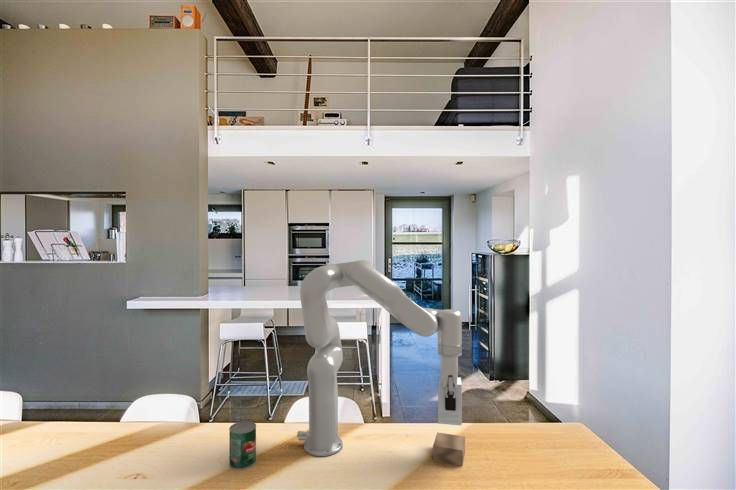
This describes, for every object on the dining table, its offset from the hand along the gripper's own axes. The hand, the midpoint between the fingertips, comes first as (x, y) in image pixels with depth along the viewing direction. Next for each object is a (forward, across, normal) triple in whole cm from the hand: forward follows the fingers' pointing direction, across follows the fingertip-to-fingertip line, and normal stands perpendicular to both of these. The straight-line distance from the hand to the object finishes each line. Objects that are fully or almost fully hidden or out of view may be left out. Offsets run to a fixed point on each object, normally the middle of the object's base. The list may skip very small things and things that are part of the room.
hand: (449, 404), depth 125 cm
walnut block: (+17, 0, 0) cm, 17 cm away
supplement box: (+5, 0, 0) cm, 5 cm away
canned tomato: (+16, +14, -63) cm, 67 cm away
